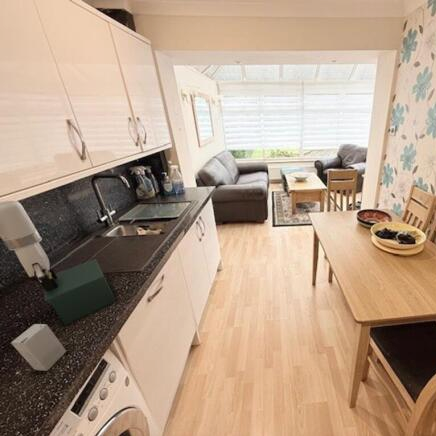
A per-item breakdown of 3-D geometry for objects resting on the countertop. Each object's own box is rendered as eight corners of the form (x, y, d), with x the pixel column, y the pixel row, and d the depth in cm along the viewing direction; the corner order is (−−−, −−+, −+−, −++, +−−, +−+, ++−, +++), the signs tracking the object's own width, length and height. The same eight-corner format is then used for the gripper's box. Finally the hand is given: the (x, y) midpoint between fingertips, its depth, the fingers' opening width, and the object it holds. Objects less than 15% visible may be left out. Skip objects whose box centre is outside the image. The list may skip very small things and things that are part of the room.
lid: (45, 302, 76) (37, 290, 74) (44, 279, 87) (37, 268, 85) (103, 278, 86) (98, 266, 83) (96, 260, 97) (91, 249, 94)
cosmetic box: (55, 351, 72) (33, 322, 67) (68, 351, 72) (47, 323, 67) (33, 371, 67) (8, 342, 61) (47, 372, 66) (23, 343, 61)
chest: (65, 325, 81) (49, 301, 76) (62, 300, 92) (47, 278, 88) (115, 300, 90) (104, 278, 86) (107, 281, 101) (96, 260, 97)
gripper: (8, 236, 78) (37, 279, 86) (3, 255, 67) (37, 303, 74) (39, 227, 83) (64, 269, 90) (39, 244, 71) (68, 290, 79)
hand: (52, 284), depth 82 cm, fingers closed on lid, 6 cm apart
